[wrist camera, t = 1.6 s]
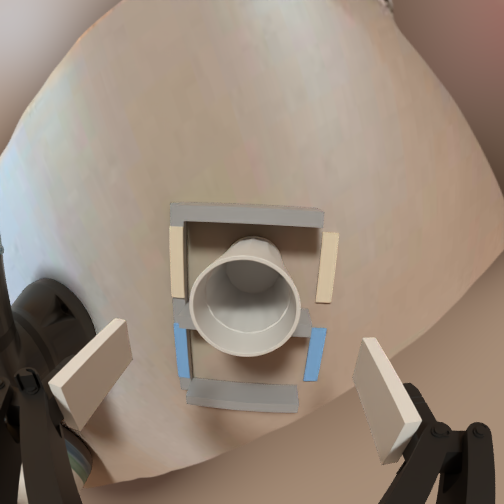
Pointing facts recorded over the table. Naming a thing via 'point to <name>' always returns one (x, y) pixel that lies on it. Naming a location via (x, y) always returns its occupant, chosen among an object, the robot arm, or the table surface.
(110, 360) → the robot arm
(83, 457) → the vase
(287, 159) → the table surface
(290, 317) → the cup
